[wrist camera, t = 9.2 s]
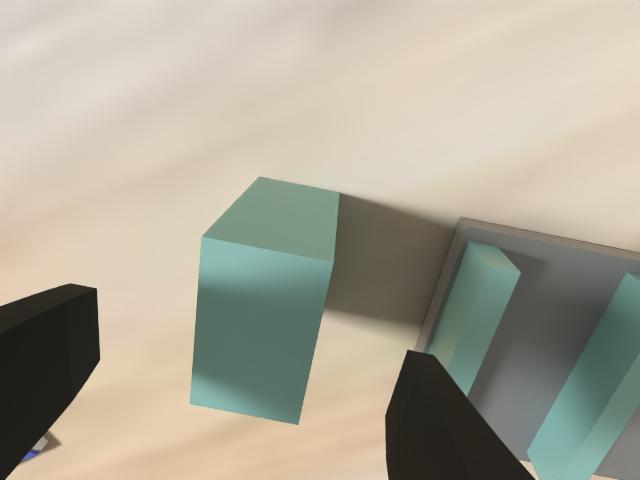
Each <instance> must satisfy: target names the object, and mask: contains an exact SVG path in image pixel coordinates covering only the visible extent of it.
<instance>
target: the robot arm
mask: <svg viewBox="0 0 640 480" xmlns="http://www.w3.org/2000/svg"><path fill="white" fill-rule="evenodd" d="M99 361H100V346H99V325H98V303H97V289H96V288H91V287H86V286H81V285H76V284H71V283H70V284H66V285H63V286H59V287H56V288H52V289H49V290H46V291H43V292H40V293H37V294H34V295H31V296H28V297H25V298H23V299H20V300H17V301H14V302H11V303H8V304H6V305H3V306H0V480H5V479H6V478H7V477H8V476H9V475H10V473H11V472H12V471H13V470H14V469H15V468H16V466H17V465H18V464H19V463H20V462H21V461H22V460H23V458H24V457H25V456H26V455H27V454H28V453H29V451H30V450H31V449H32V448H33V447H34V446H35V445H36V443H37V442H38V441H39V440H40V439H41V438H42V436H43V435H44V434H45V433H46V432H47V431H48V429H49V428H50V427H51V426H52V425H53V424H54V422H55V421H56V420H57V419H58V418H59V417H60V415H61V414H62V413H63V412H64V411H65V409H66V408H67V407H68V406H69V405H70V403H71V402H72V401H73V400H74V398H75V397H76V395H77V394H78V393H79V391H80V390H81V388H82V387H83V385H84V384H85V382H86V381H87V379H88V378H89V376H90V375H91V373H92V372H93V370H94V369H95V367H96V365H97V364H98V362H99ZM385 426H386V462H387V470H388V478H389V480H535V478H534V477H533V476H532V475H531V474H530V473H529V472H528V471H527V469H526V468H525V467H524V466H523V465H522V464H521V463H520V462H519V460H518V459H517V458H516V457H515V456H514V455H513V453H512V452H511V451H510V450H509V449H508V448H507V446H506V445H505V444H504V443H503V442H502V440H501V439H500V438H499V437H498V436H497V434H496V433H495V432H494V431H493V430H492V428H491V427H490V426H489V425H488V423H487V422H486V421H485V420H484V418H483V417H482V416H481V415H480V413H479V412H478V411H477V409H476V408H475V407H474V406H473V404H472V403H471V402H470V401H469V399H468V398H467V397H466V395H465V394H464V393H463V391H462V390H461V389H460V388H459V386H458V385H457V384H456V382H455V381H454V380H453V378H452V377H451V376H450V375H449V373H448V372H447V371H446V369H445V368H444V367H443V365H442V364H441V363H440V362H439V360H438V359H437V358H436V357H435V356H434V355H432V354H427V353H422V352H417V351H412V350H407V353H406V356H405V359H404V362H403V365H402V368H401V371H400V374H399V377H398V380H397V383H396V386H395V389H394V392H393V395H392V397H391V400H390V403H389V406H388V409H387V412H386V415H385Z"/></svg>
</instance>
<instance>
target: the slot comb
mask: <svg viewBox="0 0 640 480" xmlns="http://www.w3.org/2000/svg"><path fill="white" fill-rule="evenodd" d="M414 351H417V352H422V353H427V354H432V355H434V356H435V357H436V358H437V359H438V360H439V362H440V363H441V364H442V365H443V367H444V368H445V369H446V371H447V372H448V373H449V375H450V376H451V377H452V378H453V380H454V381H455V382H456V384H457V385H458V386H459V388H460V389H461V390H462V391H463V393H464V394H465V395H466V397H467V398H468V399H469V401H470V402H471V403H472V404H473V406H474V407H475V408H476V409H477V411H478V412H479V413H480V415H481V416H482V417H483V418H484V420H485V421H486V422H487V423H488V425H489V426H490V427H491V428H492V430H493V431H494V432H495V433H496V434H497V436H498V437H499V438H500V439H501V440H502V442H503V443H504V444H505V445H506V446H507V448H508V449H509V450H510V451H511V452H512V453H513V455H514V456H515V457H516V458H517V459H518V460H522V461H527V462H531V463H532V465H533V467H534V469H535V471H536V473H537V475H538V477H539V479H540V480H589V479H590V478H591V476H592V475H598V476H604V477H609V478H614V479H619V480H640V253H637V252H632V251H627V250H622V249H617V248H612V247H607V246H602V245H597V244H592V243H587V242H582V241H577V240H572V239H567V238H562V237H557V236H552V235H547V234H542V233H537V232H532V231H527V230H522V229H517V228H512V227H507V226H502V225H497V224H492V223H487V222H482V221H477V220H472V219H467V218H462V217H460V219H459V222H458V225H457V228H456V231H455V234H454V237H453V240H452V242H451V245H450V248H449V251H448V254H447V257H446V260H445V263H444V266H443V269H442V271H441V274H440V277H439V280H438V283H437V286H436V289H435V292H434V295H433V297H432V300H431V303H430V306H429V309H428V312H427V315H426V318H425V321H424V324H423V326H422V329H421V332H420V335H419V338H418V341H417V344H416V347H415V350H414Z"/></svg>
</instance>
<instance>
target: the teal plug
mask: <svg viewBox="0 0 640 480" xmlns="http://www.w3.org/2000/svg"><path fill="white" fill-rule="evenodd" d="M339 194H340V193H339V192H334V191H329V190H324V189H319V188H314V187H309V186H304V185H299V184H294V183H289V182H283V181H278V180H273V179H268V178H263V177H258V179H257V180H256V181H255V182H254V183H253V184H252V185H251V186H250V187H249V188H248V189H247V190H246V191H245V192H244V193H243V194H242V195H241V196H240V197H239V198H238V199H237V200H236V201H235V202H234V203H233V204H232V206H231V207H230V208H229V209H228V210H227V211H226V212H225V213H224V214H223V215H222V216H221V217H220V218H219V219H218V220H217V221H216V222H215V223H214V224H213V225H212V226H211V227H210V228H209V229H208V230H207V231H206V233H205V234H204V235H203V236H202V237H201V252H200V266H199V280H198V295H197V309H196V323H195V338H194V352H193V366H192V381H191V395H190V404H193V405H198V406H203V407H208V408H213V409H219V410H224V411H229V412H234V413H239V414H244V415H250V416H255V417H260V418H265V419H270V420H275V421H280V422H286V423H291V424H296V425H298V423H299V419H300V414H301V410H302V405H303V401H304V396H305V391H306V387H307V382H308V378H309V373H310V369H311V364H312V360H313V355H314V350H315V346H316V341H317V337H318V332H319V328H320V323H321V319H322V314H323V309H324V305H325V300H326V296H327V291H328V287H329V282H330V278H331V273H332V268H333V264H334V254H335V242H336V230H337V218H338V206H339Z"/></svg>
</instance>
